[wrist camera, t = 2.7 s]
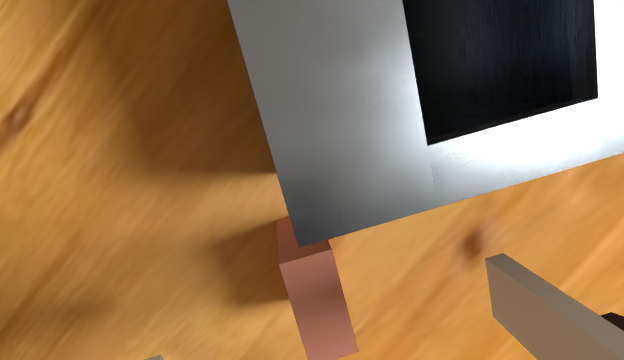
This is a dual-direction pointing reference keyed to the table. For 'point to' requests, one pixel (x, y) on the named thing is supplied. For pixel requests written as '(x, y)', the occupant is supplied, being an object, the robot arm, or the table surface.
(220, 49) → the table surface
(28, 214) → the table surface
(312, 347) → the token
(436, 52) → the grey hollow block
